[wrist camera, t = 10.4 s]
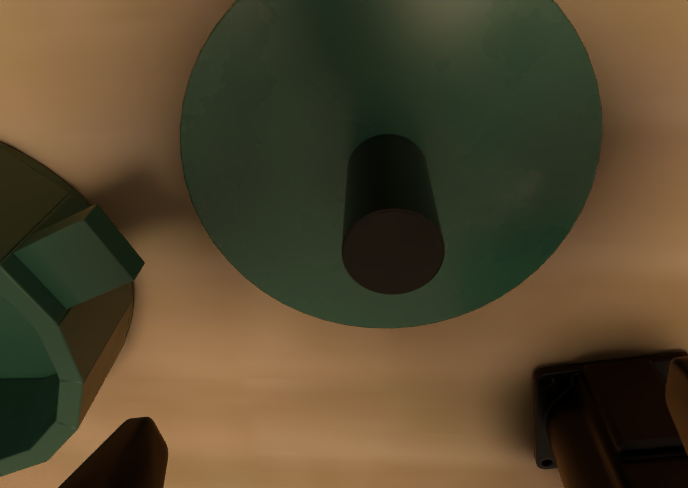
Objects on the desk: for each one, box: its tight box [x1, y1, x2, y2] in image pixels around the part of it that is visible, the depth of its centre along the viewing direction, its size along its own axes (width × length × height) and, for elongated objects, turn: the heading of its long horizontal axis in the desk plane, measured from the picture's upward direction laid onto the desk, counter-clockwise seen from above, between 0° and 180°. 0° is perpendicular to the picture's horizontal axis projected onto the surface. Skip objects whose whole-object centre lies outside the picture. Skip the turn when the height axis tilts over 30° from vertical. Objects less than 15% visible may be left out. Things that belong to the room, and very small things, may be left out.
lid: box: [180, 0, 602, 328], centre depth 16 cm, size 14×14×6 cm
